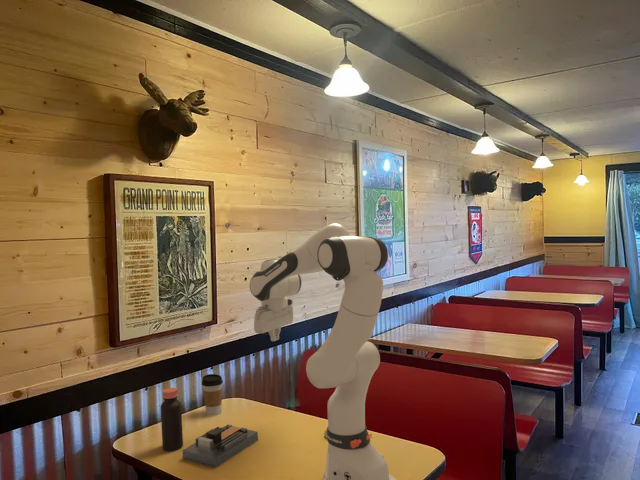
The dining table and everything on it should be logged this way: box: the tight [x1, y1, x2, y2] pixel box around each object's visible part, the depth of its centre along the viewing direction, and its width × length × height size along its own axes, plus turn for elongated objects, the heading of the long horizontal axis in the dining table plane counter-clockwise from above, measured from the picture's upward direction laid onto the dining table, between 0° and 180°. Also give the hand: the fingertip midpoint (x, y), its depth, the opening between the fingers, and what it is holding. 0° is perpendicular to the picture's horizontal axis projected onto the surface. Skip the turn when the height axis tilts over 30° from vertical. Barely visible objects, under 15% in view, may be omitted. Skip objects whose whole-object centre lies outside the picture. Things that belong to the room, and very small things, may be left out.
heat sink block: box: [182, 423, 259, 469], centre depth 166 cm, size 22×14×6 cm, turn 150°
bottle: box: [160, 387, 184, 452], centre depth 169 cm, size 7×7×20 cm
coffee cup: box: [201, 373, 224, 417], centre depth 199 cm, size 8×8×15 cm
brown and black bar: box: [205, 425, 243, 448], centre depth 167 cm, size 4×4×15 cm
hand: (274, 340), depth 180 cm, fingers closed
